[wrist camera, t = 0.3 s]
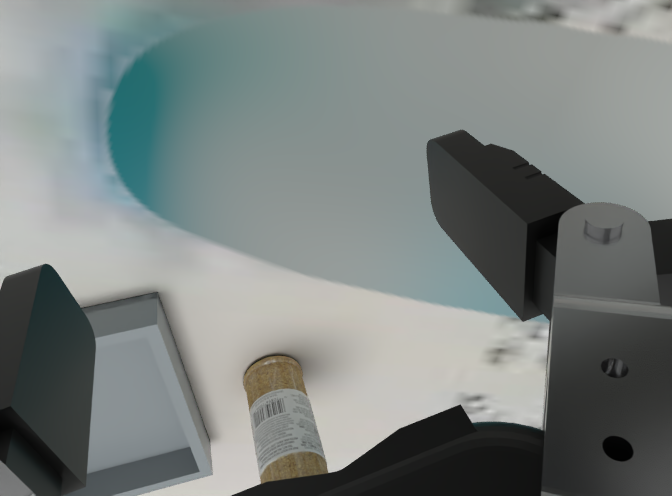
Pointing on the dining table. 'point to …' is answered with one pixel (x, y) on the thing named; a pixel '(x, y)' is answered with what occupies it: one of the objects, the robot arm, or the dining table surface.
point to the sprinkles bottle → (282, 421)
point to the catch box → (141, 404)
